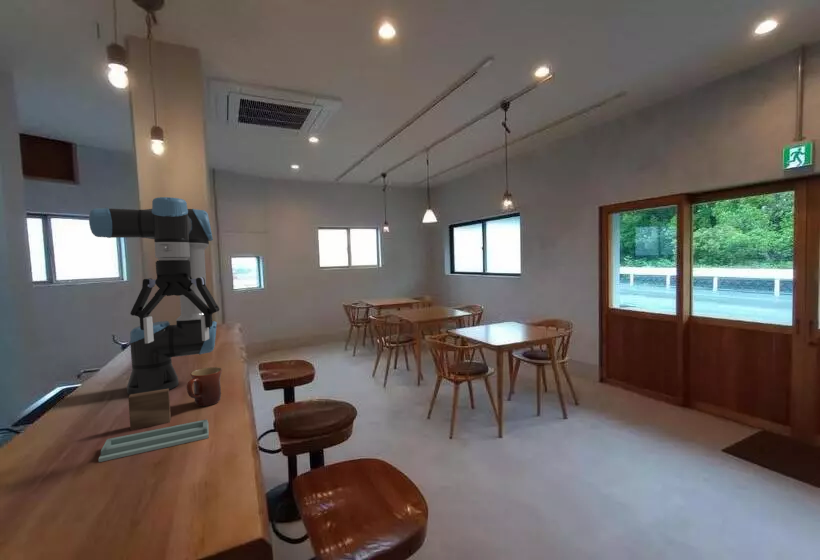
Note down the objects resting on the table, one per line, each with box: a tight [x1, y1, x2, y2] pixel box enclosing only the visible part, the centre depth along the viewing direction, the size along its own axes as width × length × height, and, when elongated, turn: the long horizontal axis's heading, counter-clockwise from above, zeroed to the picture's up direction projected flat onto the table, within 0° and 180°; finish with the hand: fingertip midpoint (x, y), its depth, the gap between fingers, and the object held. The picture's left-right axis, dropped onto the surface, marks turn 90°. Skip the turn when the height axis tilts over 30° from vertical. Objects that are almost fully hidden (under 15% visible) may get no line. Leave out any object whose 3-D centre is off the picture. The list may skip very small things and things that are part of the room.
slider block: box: [128, 389, 172, 431], centre depth 103 cm, size 3×9×9 cm, turn 119°
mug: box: [186, 366, 223, 407], centre depth 116 cm, size 12×9×10 cm
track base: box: [98, 418, 210, 463], centre depth 93 cm, size 9×22×2 cm, turn 119°
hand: (177, 341), depth 96 cm, fingers open, 13 cm apart
